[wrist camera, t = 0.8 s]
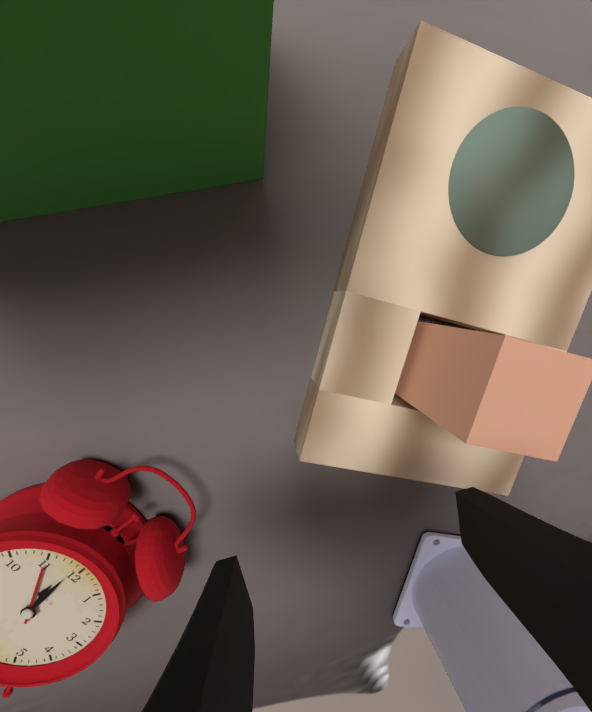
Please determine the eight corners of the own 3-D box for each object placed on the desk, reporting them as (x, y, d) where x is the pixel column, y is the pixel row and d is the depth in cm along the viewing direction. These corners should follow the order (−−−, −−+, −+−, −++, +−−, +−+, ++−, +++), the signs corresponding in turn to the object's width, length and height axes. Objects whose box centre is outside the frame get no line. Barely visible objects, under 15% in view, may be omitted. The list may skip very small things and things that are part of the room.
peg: (465, 335, 20) (599, 361, 12) (443, 398, 21) (557, 461, 13) (404, 318, 19) (505, 335, 11) (383, 385, 20) (465, 443, 12)
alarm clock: (-158, 624, 15) (28, 487, 11) (-24, 518, 21) (125, 406, 17) (14, 729, 17) (211, 642, 14) (90, 607, 23) (242, 525, 20)
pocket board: (604, 149, 19) (659, 126, 16) (480, 473, 22) (509, 496, 20) (395, 61, 16) (422, 18, 14) (293, 440, 20) (299, 461, 17)
